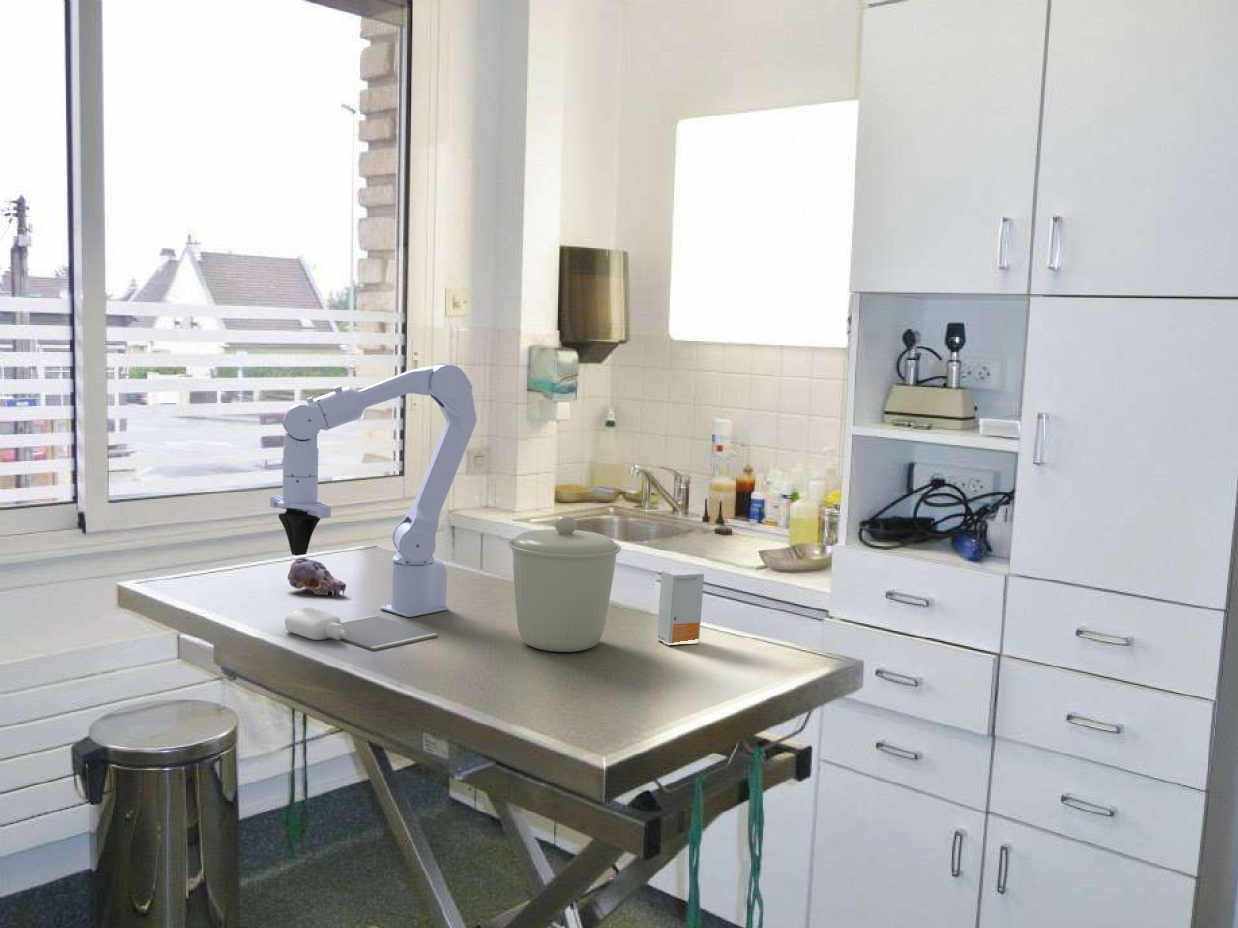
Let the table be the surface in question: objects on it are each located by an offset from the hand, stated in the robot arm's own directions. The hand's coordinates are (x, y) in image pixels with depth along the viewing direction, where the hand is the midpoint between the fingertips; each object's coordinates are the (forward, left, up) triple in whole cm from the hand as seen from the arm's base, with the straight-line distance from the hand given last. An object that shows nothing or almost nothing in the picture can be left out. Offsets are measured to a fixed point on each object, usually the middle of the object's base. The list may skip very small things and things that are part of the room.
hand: (299, 554), depth 189 cm
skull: (-12, -11, -11) cm, 20 cm away
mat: (-2, +18, -10) cm, 21 cm away
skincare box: (-36, +54, -11) cm, 66 cm away
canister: (-20, +42, -11) cm, 48 cm away
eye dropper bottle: (+6, +9, -9) cm, 13 cm away
